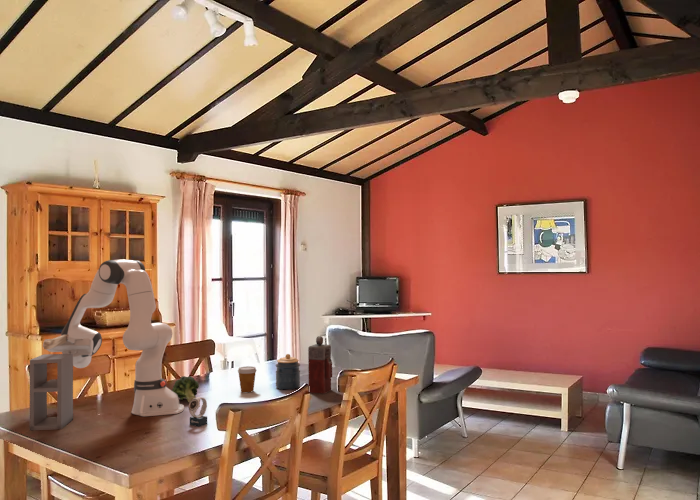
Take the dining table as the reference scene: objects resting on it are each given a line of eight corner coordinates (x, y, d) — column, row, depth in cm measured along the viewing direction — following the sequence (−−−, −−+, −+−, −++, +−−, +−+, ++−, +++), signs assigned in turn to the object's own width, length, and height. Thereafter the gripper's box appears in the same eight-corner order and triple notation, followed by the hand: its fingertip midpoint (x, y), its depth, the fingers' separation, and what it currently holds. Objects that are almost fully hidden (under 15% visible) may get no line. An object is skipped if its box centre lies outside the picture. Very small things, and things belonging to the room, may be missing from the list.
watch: (186, 426, 236) (186, 399, 236) (200, 421, 243) (200, 394, 243) (196, 428, 233) (196, 400, 233) (210, 423, 240) (210, 396, 240)
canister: (299, 390, 300) (298, 355, 300) (273, 390, 300) (273, 356, 300) (301, 384, 313) (301, 351, 313) (277, 384, 313) (277, 352, 313)
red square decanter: (328, 394, 291) (328, 338, 291) (308, 392, 295) (308, 337, 295) (335, 390, 299) (335, 335, 299) (315, 388, 303) (315, 334, 303)
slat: (68, 341, 256) (68, 334, 256) (49, 349, 234) (49, 341, 234) (63, 341, 256) (63, 334, 256) (44, 349, 234) (44, 341, 234)
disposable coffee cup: (258, 389, 302) (258, 366, 302) (253, 393, 293) (253, 369, 293) (240, 389, 303) (240, 366, 303) (235, 393, 294) (235, 369, 294)
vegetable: (173, 401, 269) (164, 382, 280) (188, 415, 277) (178, 396, 288) (195, 384, 271) (185, 366, 283) (209, 399, 280) (199, 380, 291)
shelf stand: (76, 416, 251) (76, 352, 252) (61, 428, 233) (61, 359, 234) (47, 418, 250) (47, 352, 250) (29, 430, 232) (29, 359, 232)
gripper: (50, 343, 265) (39, 331, 253) (97, 342, 267) (88, 330, 256) (47, 356, 262) (36, 345, 250) (95, 355, 264) (86, 344, 252)
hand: (63, 338), depth 253 cm, fingers closed on slat, 2 cm apart
